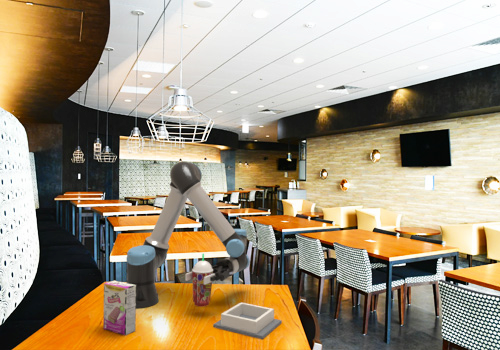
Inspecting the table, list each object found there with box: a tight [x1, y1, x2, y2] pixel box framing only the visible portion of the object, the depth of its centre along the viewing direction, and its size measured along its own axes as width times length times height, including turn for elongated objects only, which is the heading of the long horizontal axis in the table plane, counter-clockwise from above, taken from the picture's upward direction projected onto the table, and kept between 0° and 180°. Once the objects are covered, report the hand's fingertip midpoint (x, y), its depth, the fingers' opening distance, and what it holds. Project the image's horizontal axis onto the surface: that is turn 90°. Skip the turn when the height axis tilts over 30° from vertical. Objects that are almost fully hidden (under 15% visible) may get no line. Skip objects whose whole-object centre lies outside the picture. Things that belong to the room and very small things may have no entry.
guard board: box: [212, 302, 283, 340], centre depth 135 cm, size 20×16×5 cm
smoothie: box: [191, 253, 213, 308], centre depth 145 cm, size 8×8×20 cm
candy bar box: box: [102, 280, 137, 336], centre depth 129 cm, size 11×5×16 cm, turn 63°
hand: (195, 279), depth 141 cm, fingers closed on smoothie, 8 cm apart
